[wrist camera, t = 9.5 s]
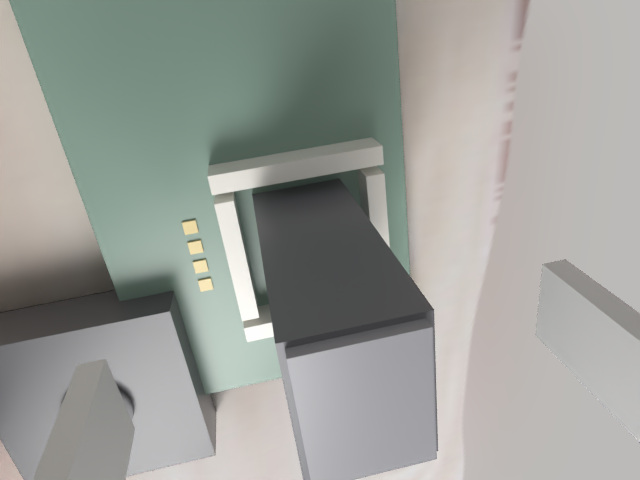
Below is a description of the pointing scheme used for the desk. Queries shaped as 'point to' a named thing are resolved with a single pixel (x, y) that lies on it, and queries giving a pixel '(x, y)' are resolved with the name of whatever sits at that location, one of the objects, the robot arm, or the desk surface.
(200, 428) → the push button
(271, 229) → the plug
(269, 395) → the desk surface
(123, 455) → the robot arm
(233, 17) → the board
